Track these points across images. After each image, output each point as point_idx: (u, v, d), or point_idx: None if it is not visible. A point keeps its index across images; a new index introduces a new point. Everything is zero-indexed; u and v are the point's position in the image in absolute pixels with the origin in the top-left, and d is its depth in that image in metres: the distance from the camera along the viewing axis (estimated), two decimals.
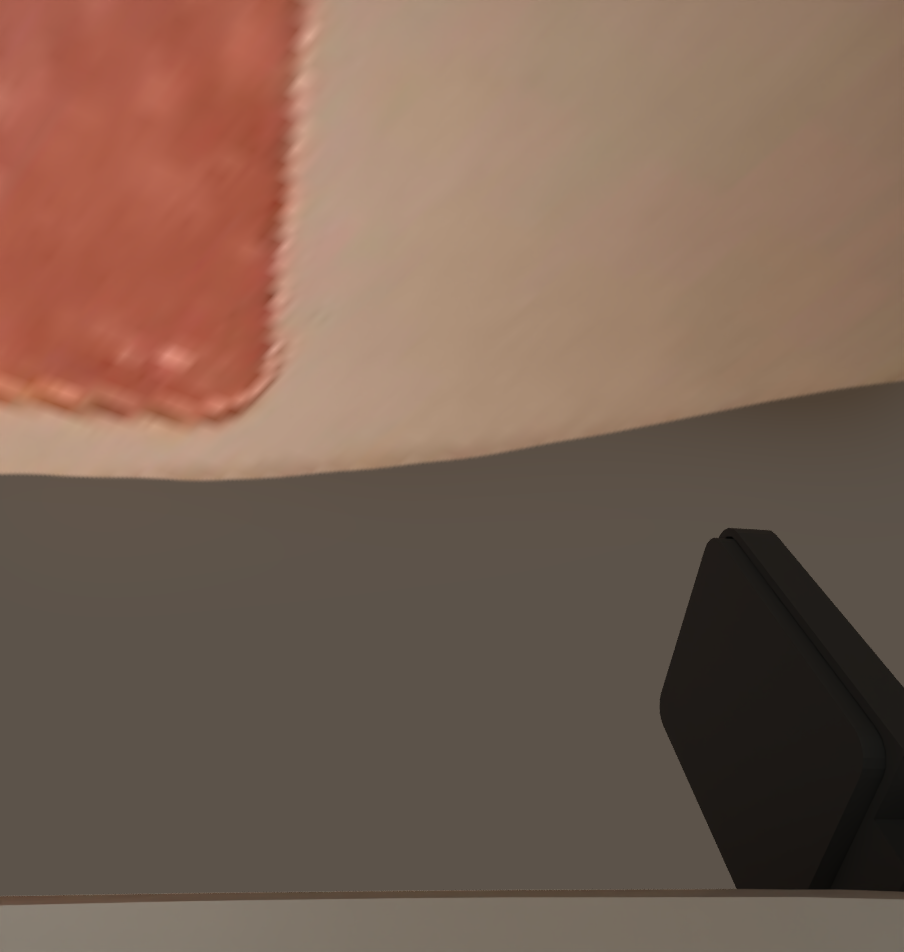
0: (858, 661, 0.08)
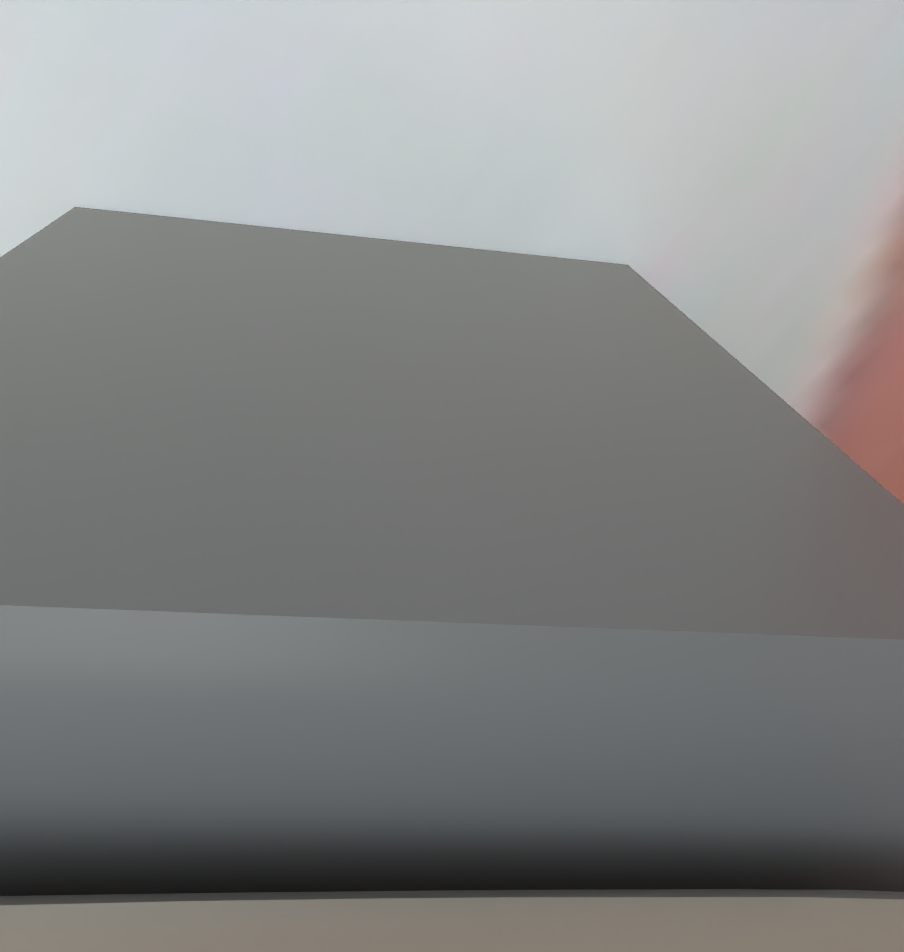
0: None
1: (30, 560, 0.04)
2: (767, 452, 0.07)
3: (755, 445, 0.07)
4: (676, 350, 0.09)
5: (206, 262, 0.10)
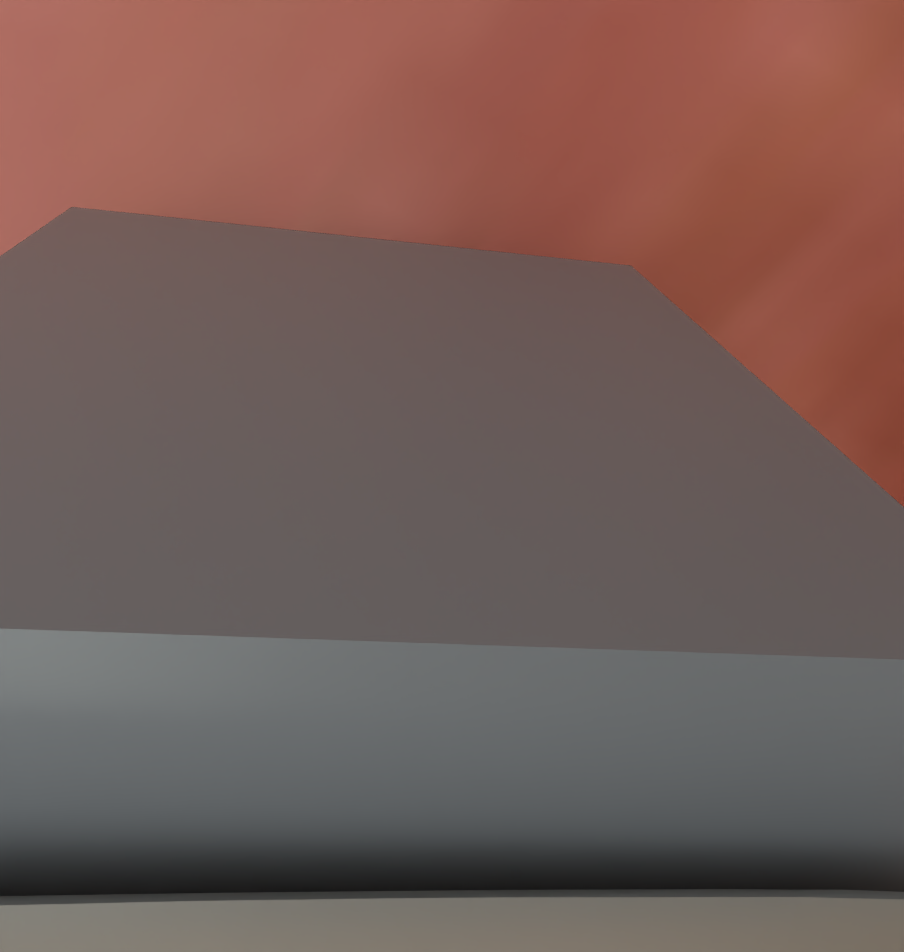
0: None
1: (21, 580, 0.04)
2: (774, 461, 0.07)
3: (762, 454, 0.07)
4: (681, 354, 0.09)
5: (204, 264, 0.10)
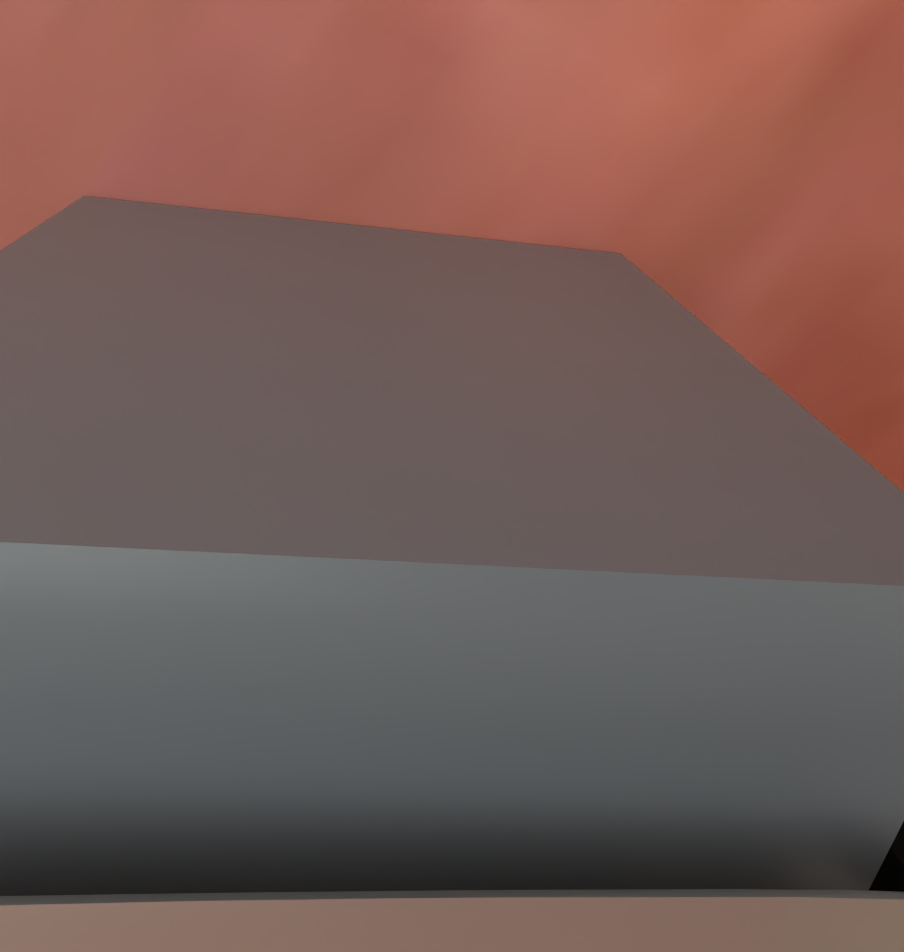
0: None
1: (56, 505, 0.05)
2: (748, 422, 0.07)
3: (737, 416, 0.07)
4: (665, 331, 0.10)
5: (212, 247, 0.10)
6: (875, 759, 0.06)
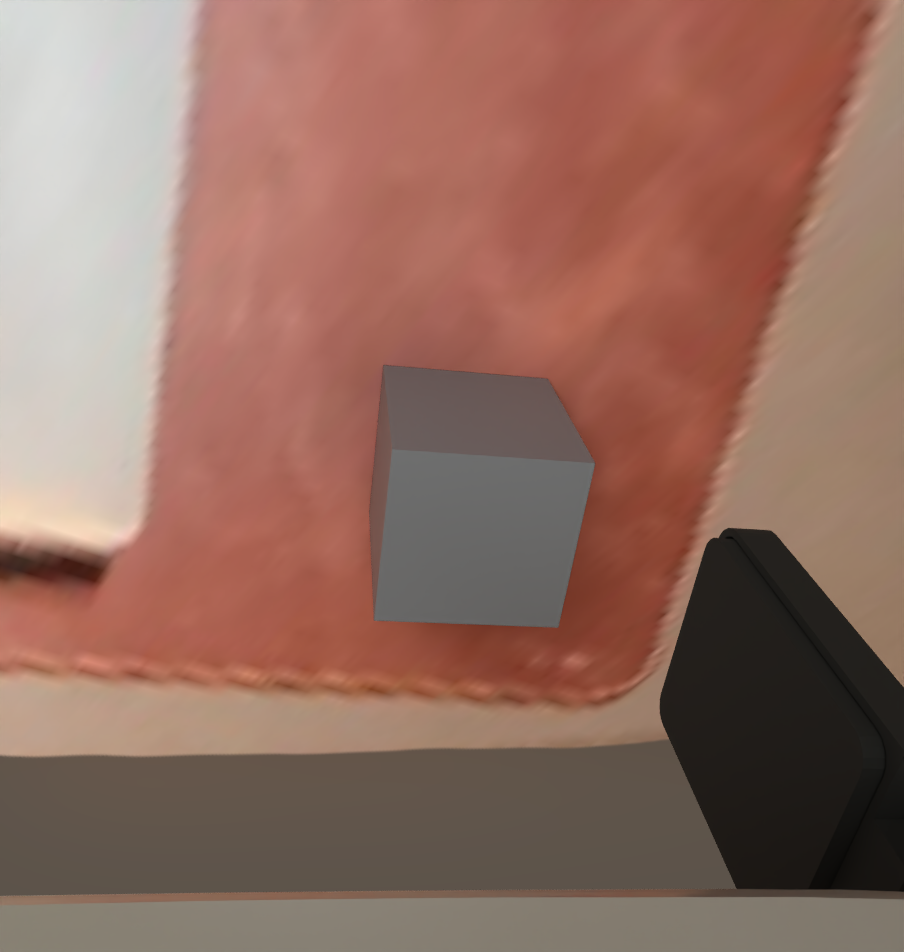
0: (858, 661, 0.08)
1: (445, 448, 0.32)
2: (562, 435, 0.35)
3: (560, 433, 0.35)
4: (552, 410, 0.37)
5: (431, 386, 0.38)
6: (576, 494, 0.33)
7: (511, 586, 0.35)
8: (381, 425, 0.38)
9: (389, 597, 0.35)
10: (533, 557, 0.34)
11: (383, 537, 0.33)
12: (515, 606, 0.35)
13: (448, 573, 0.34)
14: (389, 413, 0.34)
